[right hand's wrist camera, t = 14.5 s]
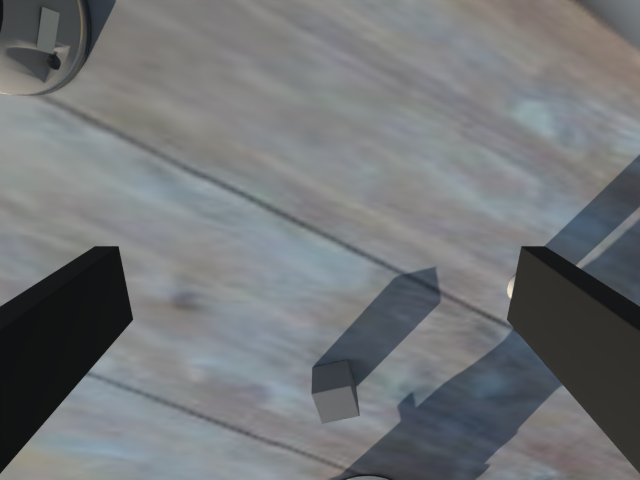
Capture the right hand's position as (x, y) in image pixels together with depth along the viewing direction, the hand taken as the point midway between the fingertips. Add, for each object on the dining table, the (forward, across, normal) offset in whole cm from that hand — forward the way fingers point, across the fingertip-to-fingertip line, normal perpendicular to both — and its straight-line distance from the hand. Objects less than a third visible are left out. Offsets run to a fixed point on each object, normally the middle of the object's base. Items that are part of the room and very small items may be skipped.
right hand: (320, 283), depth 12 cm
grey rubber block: (+31, +2, -30) cm, 43 cm away
